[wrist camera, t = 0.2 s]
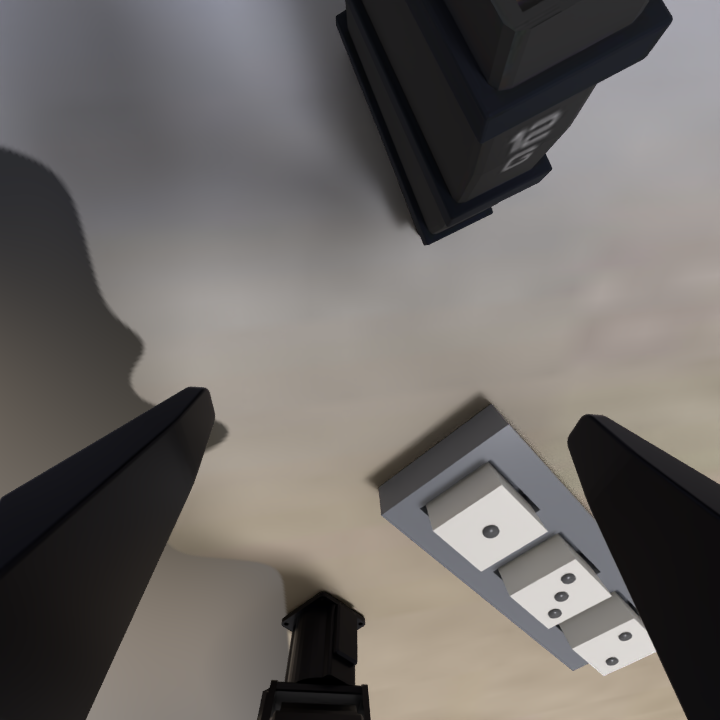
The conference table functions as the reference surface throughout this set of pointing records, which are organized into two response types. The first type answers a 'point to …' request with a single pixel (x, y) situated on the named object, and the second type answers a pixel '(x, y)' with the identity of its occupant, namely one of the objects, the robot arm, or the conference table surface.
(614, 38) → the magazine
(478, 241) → the conference table surface
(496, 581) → the keypad board
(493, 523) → the tile one
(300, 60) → the conference table surface
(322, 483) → the conference table surface
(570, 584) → the tile three
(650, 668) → the conference table surface
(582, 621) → the tile two
